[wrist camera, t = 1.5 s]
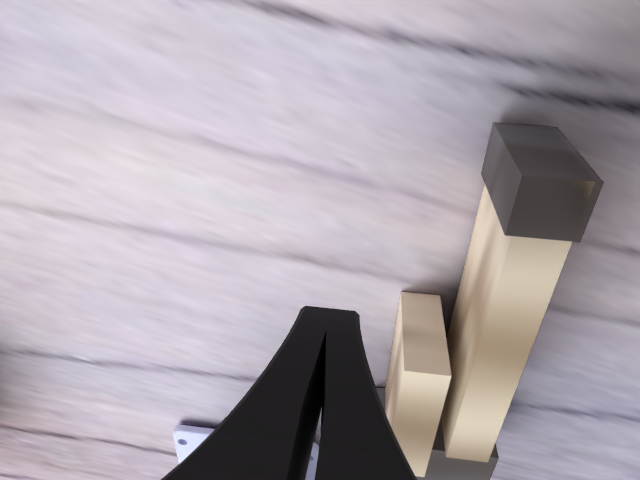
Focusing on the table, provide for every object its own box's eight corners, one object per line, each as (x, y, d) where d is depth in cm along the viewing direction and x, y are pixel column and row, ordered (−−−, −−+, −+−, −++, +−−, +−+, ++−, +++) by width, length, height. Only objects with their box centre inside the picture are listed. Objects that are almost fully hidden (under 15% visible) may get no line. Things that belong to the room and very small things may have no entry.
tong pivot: (475, 431, 24) (491, 519, 21) (364, 418, 25) (360, 501, 21) (519, 303, 20) (548, 387, 16) (381, 289, 20) (380, 367, 17)
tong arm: (477, 381, 22) (493, 463, 19) (432, 376, 22) (440, 456, 19) (557, 127, 16) (603, 182, 12) (493, 122, 16) (521, 175, 12)
